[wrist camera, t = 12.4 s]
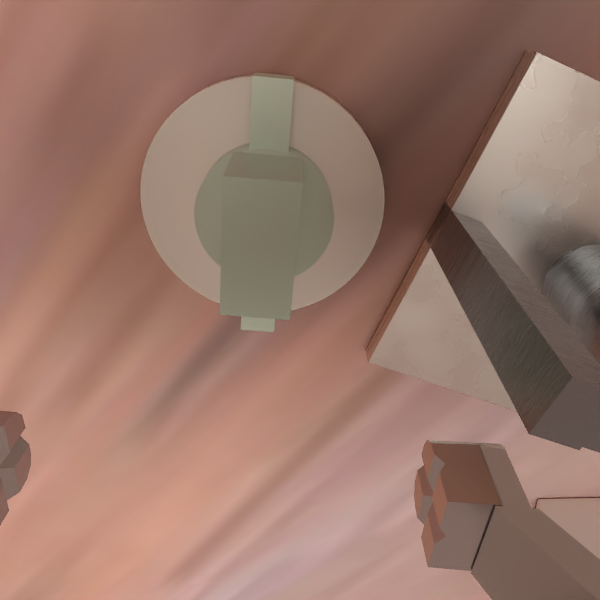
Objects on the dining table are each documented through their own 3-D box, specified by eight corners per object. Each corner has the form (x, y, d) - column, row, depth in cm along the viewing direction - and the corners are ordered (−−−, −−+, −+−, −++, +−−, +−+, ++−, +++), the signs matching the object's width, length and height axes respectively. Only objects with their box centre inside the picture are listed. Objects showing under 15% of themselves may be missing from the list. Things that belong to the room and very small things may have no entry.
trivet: (182, 31, 22) (176, 32, 21) (422, 131, 24) (427, 137, 23) (123, 259, 27) (116, 269, 26) (327, 328, 29) (328, 340, 28)
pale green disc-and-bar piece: (348, 80, 22) (360, 100, 18) (318, 321, 28) (321, 381, 23) (200, 66, 22) (175, 82, 18) (199, 312, 27) (179, 371, 23)
